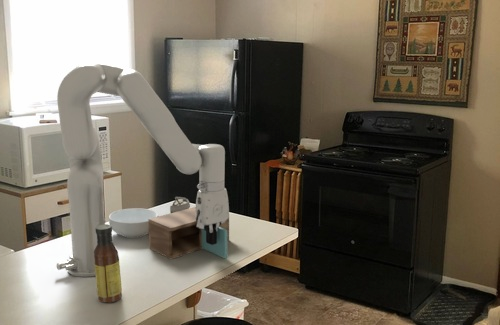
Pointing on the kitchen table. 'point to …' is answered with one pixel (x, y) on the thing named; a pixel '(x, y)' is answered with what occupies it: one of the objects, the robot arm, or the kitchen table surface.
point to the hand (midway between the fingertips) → (211, 243)
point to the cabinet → (177, 233)
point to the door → (221, 243)
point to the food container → (179, 204)
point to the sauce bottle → (107, 266)
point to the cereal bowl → (131, 221)
